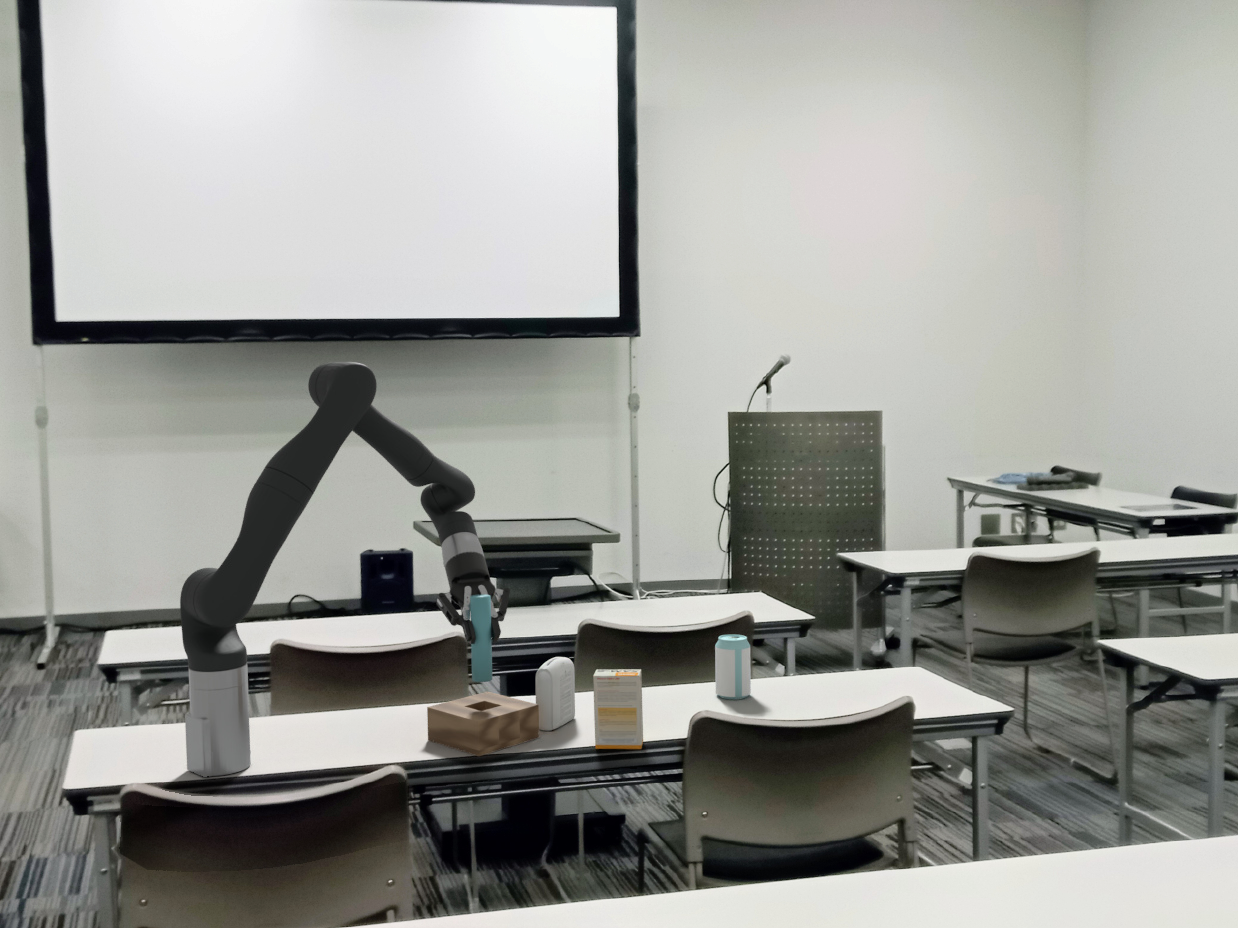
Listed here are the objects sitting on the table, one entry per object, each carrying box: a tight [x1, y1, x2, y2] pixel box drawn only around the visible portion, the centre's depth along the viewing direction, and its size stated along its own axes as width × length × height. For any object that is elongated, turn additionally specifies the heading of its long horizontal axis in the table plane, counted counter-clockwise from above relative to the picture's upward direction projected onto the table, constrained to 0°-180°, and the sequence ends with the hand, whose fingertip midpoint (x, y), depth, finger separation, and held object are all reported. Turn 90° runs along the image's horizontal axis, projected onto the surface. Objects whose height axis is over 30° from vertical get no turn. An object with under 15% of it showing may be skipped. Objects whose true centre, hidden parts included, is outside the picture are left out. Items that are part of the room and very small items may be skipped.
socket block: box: [426, 691, 540, 757], centre depth 206 cm, size 14×14×6 cm
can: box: [714, 634, 752, 700], centre depth 233 cm, size 7×7×12 cm
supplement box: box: [592, 668, 644, 750], centre depth 201 cm, size 8×5×13 cm, turn 84°
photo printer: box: [535, 656, 576, 732], centre depth 215 cm, size 10×4×12 cm, turn 157°
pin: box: [470, 594, 493, 683], centre depth 205 cm, size 4×4×15 cm
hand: (484, 640), depth 203 cm, fingers closed on pin, 3 cm apart
